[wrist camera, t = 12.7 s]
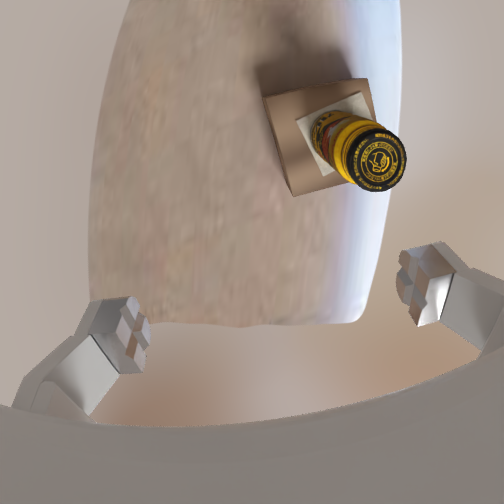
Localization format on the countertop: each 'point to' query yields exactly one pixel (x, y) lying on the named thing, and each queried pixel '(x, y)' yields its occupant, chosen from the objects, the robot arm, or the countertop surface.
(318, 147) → the condiment
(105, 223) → the countertop surface
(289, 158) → the walnut block
